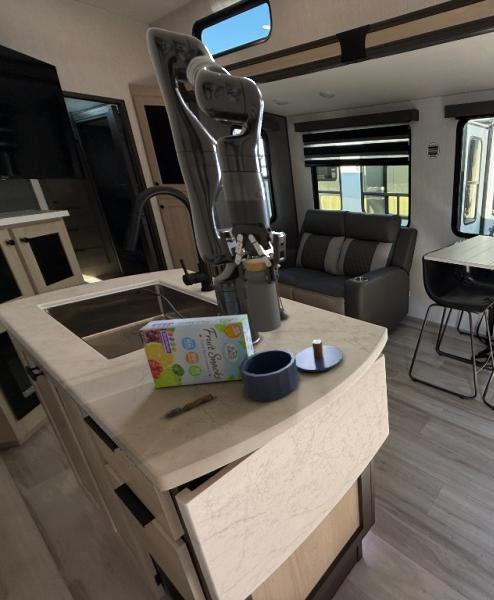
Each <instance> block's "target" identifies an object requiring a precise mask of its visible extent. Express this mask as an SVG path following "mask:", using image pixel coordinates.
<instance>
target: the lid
mask: <svg viewBox="0 0 494 600" xmlns="http://www.w3.org/2000/svg"><path fill="white" fill-rule="evenodd" d="M294 356H295V359H296V367H297V370H300V371H302V372H303V371H304V372H308V373H316V372H324V371H327V370H330V369H333V368H335V367H336V366H338V365H339V364H340V363H341V362H342V361H343V358H344V353H343V352H342V350H341V349H340V348H339V347H336V346H333V345H323V341H322V340H321V339H314V340H312V346H311V347H308V348H305V349H303V350H301V351H299V352H298V353H296V354H295V355H294Z"/></svg>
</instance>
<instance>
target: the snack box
mask: <svg viewBox="0 0 494 600" xmlns="http://www.w3.org/2000/svg"><path fill="white" fill-rule="evenodd" d="M138 334H139V337H140V340H141V343H142V347H143V350H144V353H145V356H146V360H147V364H148V366H149V369H150V373H151V376H152V379H153V383H154V386H155V388H156V389H158V388H168V387H177V386H188V385H198V384H209V383H218V382H229V381H239V380H242V377H241V372H240V365H241V363H242V362H243V360H245V359H246V358H248V357H249V356H251V355H253V354H255V351H254V345H252V340H251V334H250V328H249V323H248V317H247V314H245V315H231V316H217V315H216V316H205V317H203V316H202V317H191V318H186V319H182V318H176V319H161V320H151V321H149V322H147V323H146V324H145V325H144V326H142V327H141V328H140V329H138Z"/></svg>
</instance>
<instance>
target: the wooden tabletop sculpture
mask: <svg viewBox="0 0 494 600" xmlns="http://www.w3.org/2000/svg"><path fill="white" fill-rule="evenodd" d="M277 267H278V269H279V268H280V267H281V263H278V265H277ZM275 285H276V292H277V299H278V306H279V313H280V320H281V321H284V320H287V319H288V318H289V317H288V313H287V311H286V310H285V308H284V305H283V302H282V299H281V294H280V287H279V281H277V282H276V283H275Z"/></svg>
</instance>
